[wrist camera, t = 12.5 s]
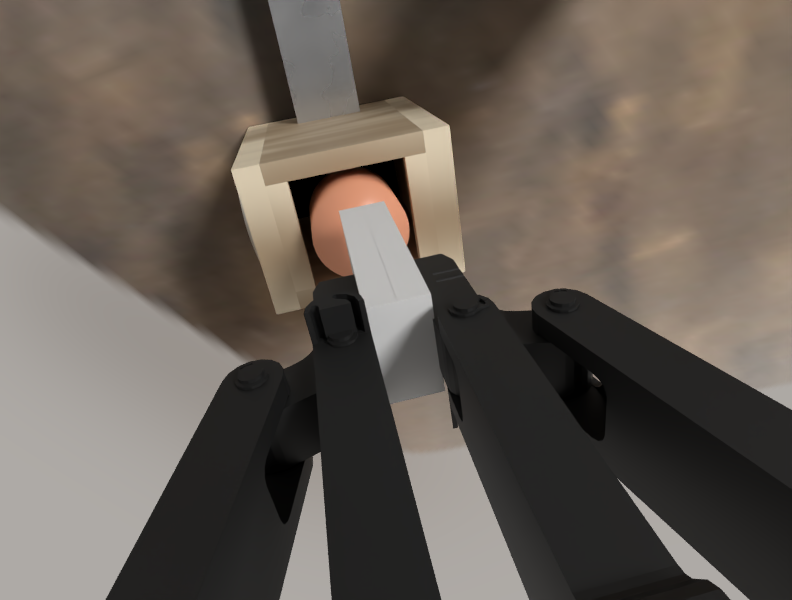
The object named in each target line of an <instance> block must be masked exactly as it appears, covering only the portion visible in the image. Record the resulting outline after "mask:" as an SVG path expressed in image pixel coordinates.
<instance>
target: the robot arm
mask: <svg viewBox="0 0 792 600" xmlns="http://www.w3.org/2000/svg"><path fill="white" fill-rule="evenodd" d="M339 214H340V218H341V223H342V227H343V232H344V236H345V241H346V245H347V249H348V254H349V258H350V263H351V267H352V272H353V275H349V276H344V277H340V278H335V279H331V280H326V281H322V282H319V283H318V285H317V286H316V288H315V289H314V291H313V301H311V302H310V303H309V304H308V305H307V306H306V308H305V311H304V317H305V320H306V323H307V327H308V330H309V334H310V337H311V341H312V344H313V351H312V352H311V353H310V354H309V355H308V356H307V357H305V358H304V359H303V360H301V361H300V362H298V363H296V364H294V365H292V366H290V367H287V368H285V369H283V368H282V366H281V365H280V363H278V362H276V361H273V360H256V361H251V362H248V363H246V364H243V365H241V366H239V367H237V368H236V369H234V370H233V371H232V372H230V373H229V374H228V375H227V376H226V377H225V379H224V380H223V381H222V383H221V385H220V387H219V388H218V390H217V392H216V394H215V396H214V398H213V400H212V402H211V403H210V406H209V407H208V409H207V411H206V413H205V415H204V417H203V419H202V420H201V422H200V424H199V426H198V428H197V430H196V431H195V433H194V435H193V438H192V439H191V441H190V443H189V445H188V446H187V449H186V450H185V452H184V454H183V456H182V458H181V460H180V461H179V463H178V465H177V467H176V469H175V471H174V473H173V475H172V476H171V478H170V480H169V482H168V484H167V486H166V488H165V490H164V491H163V493H162V496H161V497H160V499H159V501H158V503H157V504H156V506H155V509H154V510H153V512H152V514H151V516H150V518H149V520H148V522H147V523H146V525H145V527H144V529H143V531H142V533H141V534H140V536H139V538H138V540H137V542H136V544H135V546H134V548H133V549H132V551H131V553H130V555H129V557H128V559H127V561H126V563H125V564H124V566H123V568H122V570H121V572H120V574H119V576H118V578H117V580H116V581H115V583H114V585H113V587H112V589H111V591H110V593H109V595H108V596H107V598H106V600H279V599H280V595H281V591H282V587H283V583H284V579H285V575H286V571H287V566H288V563H289V559H290V555H291V550H292V547H293V543H294V539H295V535H296V531H297V527H298V523H299V519H300V515H301V511H302V506H303V503H304V499H305V495H306V491H307V486H308V483H309V479H310V475H311V471H312V467H313V456H314V455H315V454H317V453H319V452H321V460H322V461H321V462H322V476H323V489H324V503H325V516H326V529H327V542H328V555H329V569H330V583H331V596H332V600H441V597H440V593H439V589H438V585H437V582H436V578H435V574H434V570H433V566H432V563H431V559H430V555H429V552H428V547H427V543H426V540H425V536H424V532H423V528H422V525H421V520H420V517H419V513H418V509H417V505H416V501H415V498H414V494H413V490H412V486H411V482H410V479H409V475H408V471H407V467H406V463H405V459H404V456H403V452H402V448H401V444H400V440H399V436H398V433H397V429H396V425H395V421H394V417H393V414H392V410H391V406H390V404H393V403H397V402H401V401H405V400H409V399H413V398H418V397H422V396H426V395H430V394H434V393H438V392H442V391H445V387H444V381H443V377H444V380H445V382H446V384H447V387H448V394H449V401H450V408H451V415H452V422H453V428H457V427H458V425H459V428H460V430H461V433H462V435H463V438H464V440H465V443H466V445H467V447H468V450H469V452H470V455H471V457H472V460H473V462H474V465H475V467H476V469H477V472H478V474H479V477H480V479H481V482H482V484H483V487H484V489H485V492H486V494H487V497H488V499H489V501H490V504H491V506H492V509H493V511H494V514H495V516H496V519H497V521H498V524H499V526H500V528H501V531H502V533H503V536H504V538H505V541H506V543H507V546H508V548H509V551H510V553H511V556H512V558H513V561H514V563H515V566H516V568H517V570H518V573H519V575H520V578H521V580H522V583H523V585H524V587H525V590H526V593H527V595H528V598H529V600H730V599H729V598H728V597H727V595H726V594H725V593H724V592H723V591H722V590H721V589H720V588H719V587H717V586H716V585H715V584H713V583H712V582H710V581H709V580H704V579H692V578H691V577H689V576H688V575H686V574H685V573H684V572H683V570H682V569H681V568H680V567H679V566H678V564H677V563H676V562H675V560H674V559H673V557H672V556H671V554H670V553H669V552H668V550H667V549H666V548H665V546H664V545H663V543H662V542H661V540H660V539H659V537H658V536H657V535H656V533H655V532H654V530H653V529H652V527H651V526H650V525H649V523H648V522H647V520H646V519H645V517H644V516H643V515H642V513H641V512H640V510H639V509H638V507H637V506H636V505H635V503H634V502H633V500H632V499H631V497H630V496H629V495H628V493H627V492H626V490H625V489H624V488H623V486H622V485H621V483H620V482H619V480H620V481H621V482H622V483H623V484H624V485H625V486H626V487H627V488H628V489H630V490H631V491H632V492H633V493H634V494H635V495H636V496H637V497H638V498H639V499H641V500H642V501H643V502H644V503H645V504H646V505H647V506H648V507H649V508H650V509H651V510H652V511H654V512H655V513H656V514H657V515H658V516H659V517H660V518H661V519H662V520H663V521H664V522H666V523H667V524H668V525H669V526H670V527H671V528H672V529H673V530H674V531H676V533H678V534H679V535H680V536H681V537H682V538H683V539H684V540H685V541H686V542H687V543H688V544H690V545H691V546H692V547H693V548H694V549H695V550H696V551H697V552H698V553H699V554H700V555H702V556H703V557H704V558H705V559H706V560H707V561H708V562H709V563H710V564H711V565H712V566H714V567H715V568H716V569H717V570H718V571H719V572H720V573H721V574H722V575H723V576H724V577H726V578H727V579H728V580H729V581H730V582H731V583H732V584H733V585H734V586H735V587H737V588H738V589H739V590H740V591H741V592H742V593H743V594H744V595H745V596H746V597H747V598H748V599H750V600H792V410H791V409H789V408H787V407H785V406H784V405H782V404H780V403H778V402H777V401H775V400H773V399H771V398H770V397H768V396H766V395H764V394H762V393H761V392H759V391H757V390H755V389H754V388H752V387H750V386H748V385H747V384H745V383H743V382H741V381H740V380H738V379H736V378H734V377H732V376H731V375H729V374H727V373H725V372H724V371H722V370H720V369H718V368H717V367H715V366H713V365H711V364H709V363H708V362H706V361H704V360H702V359H701V358H699V357H697V356H695V355H694V354H692V353H690V352H688V351H686V350H685V349H683V348H681V347H679V346H678V345H676V344H674V343H672V342H671V341H669V340H667V339H665V338H664V337H662V336H660V335H658V334H656V333H655V332H653V331H651V330H649V329H648V328H646V327H644V326H642V325H641V324H639V323H637V322H635V321H633V320H632V319H630V318H628V317H626V316H625V315H623V314H621V313H619V312H618V311H616V310H614V309H612V308H610V307H609V306H607V305H605V304H603V303H602V302H600V301H598V300H596V299H595V298H593V297H591V296H589V295H588V294H585V293H583V292H580V291H577V290H571V289H553V290H550V291H546V292H543V293H541V294H539V295H537V296H536V297H535V298H534V299H533V301H532V302H531V304H532V310H531V311H503V310H499V309H498V308H497V307H496V305H495V304H494V302H492V301H491V300H490V299H489V298H487V297H484V296H481V295H477V294H476V293H475V291H474V290H473V288H472V287H471V285H470V284H469V282H468V281H467V279H466V278H465V276H463V273H462V272H461V270H460V269H459V267H458V266H457V264H456V263H455V261H454V260H453V259H452V258H450V257H447V256H445V255H443V254H437V255H432V256H428V257H423V258H419V259H413V257H412V255H411V253H410V251H409V249H408V247H407V245H406V244H405V242H404V240H403V238H402V236H401V234H400V232H399V230H398V228H397V226H396V224H395V222H394V220H393V218H392V216H391V214H390V212H389V210H388V208H387V206H386V204H385V202H384V201H382V202H377V203H373V204H368V205H363V206H359V207H354V208H349V209H345V210H340V211H339ZM593 374H594V375H595V376H596V377H597V378H598V379H599V380H600V381H601V382H599V381H598V380H597V379H595V378H594V377H593ZM617 478H618V479H619V480H618V479H617Z"/></svg>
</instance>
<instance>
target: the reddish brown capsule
mask: <svg viewBox="0 0 792 600" xmlns="http://www.w3.org/2000/svg"><path fill="white" fill-rule="evenodd" d="M382 201H384V202H385V204H386V206H387V208H388V210H389V212H390V214H391V216H392V218H393V220H394V222H395V224H396V226H397V228H398V230H399V232H400V234H401V236H402V238H403V240H404V242H405V244H406V245H407V244H408V240H409V223H408V218H407V216H406V213H405V211H404V209H403V208H402V206H401V204H400V203H399V201H398V199H397V198H396V196H395V195H394V193H393V191H392V190H391V188H390V187H389V185H388V184H387V182H386V181H385V180H384V179H383V178H382V177H381V176H379V175H378V174H377V173H375V172H373V171H371V170H369V169H366V168H362V167H355V168H350V169H346V170H341V171H336V172H331V173H329V174H328V175H327V176H325V177H324V178H323V179H322V180H321V181H320V182H319V183H318V185H317V186H316V188H315V189H314V191H313V194H312V196H311V200H310V207H309V210H310V221H311V231H312V240H313V245H314V248H315V251H316V253H317V255H318V257H319V258H320V260H321V261H322V262H323V264H324V265H325V266H326V267H328V268H329V269H330V270H331V271H333V272H335V273H336V274H339V275H341V276H349V275H353V272H352V267H351V263H350V258H349V254H348V249H347V245H346V241H345V236H344V232H343V227H342V223H341V218H340V214H339V211H340V210H345V209H349V208H354V207H359V206H363V205H368V204H373V203H377V202H382Z"/></svg>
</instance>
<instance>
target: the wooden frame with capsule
mask: <svg viewBox="0 0 792 600" xmlns="http://www.w3.org/2000/svg"><path fill="white" fill-rule="evenodd" d="M359 108H360V111H359V112H354V113H349V114H344V115H339V116H334V117H330V118H325V119H320V120H315V121H310V122H305V123H300V124H298V121H297V118H292V119H287V120H282V121H277V122H272V123H267V124H262V125H257V126H252V127H248V129H247V132H246V134H245V137H244V139H243V142H242V144H241V147H240V149H239V152H238V154H237V156H236V159H235V161H234V164H233V166H232V169H231V172H232V175H233V178H234V182H235V185H236V188H237V191H238V195H239V200H240V205H241V209H242V213H243V217H244V221H245V224H246V228H247V231H248V234H249V237H250V240H251V243H252V246H253V248H254V251H255V253H256V255H257V257H258V259H259V261H260V264H261V267H262V270H263V273H264V276H265V279H266V283H267V286H268V289H269V292H270V295H271V298H272V301H273V305H274V308H275V311H276V314H282V313H286V312H290V311H295V310H299V309H303V308H306V306H307V305H308V304H309V303H310V302H311V301H313V291H314V289H315V288H316V286H317V285H318V283H319V282H322V281H326V280H331V279H335V278H340V277H344V276H341V275H339V274H336V273H335V272H333V271H331V270H330V269H329V268H328V267H326V266H325V265H324V264H323V262H322V261H321V260H320V258H319V257H318V255H317V253H316V251H315V248H314V245H313V240H312V231H311V221H310V217H305V218H301V219H298V217H297V213H296V209H295V205H294V202H293V198H292V194H291V190H290V187H289V183H288V181H293V180H298V179H302V178H307V177H312V176H317V175H322V174H326V173H331V172H336V171H341V170H346V169H350V168H355V167H360V166H365V165H369V164H374V163H379V162H384V161H389V160H393V159H394V163H395V169H396V175H397V181H398V188H399V194H400V197H398V198H397V199H398V201H399V203H400V204H401V206H402V208H403V209H404V211H405V213H406V216H407V218H408V223H409V240H408V244H407V247H408V249H409V251H410V253H411V255H412V257H413V259H419V258H423V257H428V256H432V255H437V254H443V255H445V256H447V257H450V258H452V259H453V260H454V261H455V263H456V264H457V266H458V267H459V269H460V270H461V272H465V263H464V254H463V245H462V236H461V226H460V217H459V208H458V199H457V190H456V180H455V171H454V162H453V153H452V143H451V134H450V125H448V124H447V123H445V122H443V121H442V120H440V119H439V118H437V117H435V116H434V115H432V114H431V113H429V112H428V111H426V110H424V109H423V108H421V107H420V106H418V105H416V104H415V103H413V102H412V101H410V100H408V99H407V98H405V97H404V96H402V97H397V98H392V99H387V100H382V101H377V102H372V103H367V104H362V105H359Z"/></svg>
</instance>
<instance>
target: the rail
mask: <svg viewBox="0 0 792 600" xmlns="http://www.w3.org/2000/svg"><path fill="white" fill-rule="evenodd" d="M268 2H269V6H270V11H271V15H272V19H273V23H274V27H275V31H276V35H277V39H278V43H279V47H280V52H281V56H282V60H283V64H284V68H285V72H286V76H287V80H288V84H289V89H290V93H291V97H292V101H293V105H294V109H295V113H296V117H297V121H298V124H300V123H305V122H310V121H315V120H320V119H325V118H330V117H334V116H339V115H344V114H349V113H354V112H359V111H360V108H359V102H358V97H357V92H356V86H355V81H354V76H353V70H352V65H351V60H350V54H349V49H348V43H347V38H346V33H345V27H344V22H343V17H342V11H341V6H340V0H268Z"/></svg>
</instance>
